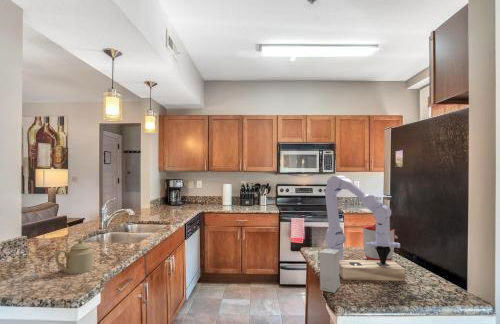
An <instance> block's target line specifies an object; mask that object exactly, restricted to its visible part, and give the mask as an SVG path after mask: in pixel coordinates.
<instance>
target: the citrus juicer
mask: <svg viewBox="0 0 500 324" xmlns="http://www.w3.org/2000/svg"><path fill="white" fill-rule="evenodd" d="M398 238H399V237H398V236H397V235H396V229H395V228H394V229H390V242H395V239H398ZM366 242H376V223H374V224H371V225H370V224H368V225H363V226H362V247H363V252H364V256H365V260H379V261H380V258H379V255H378V253H377V251H376V249H375V247H369V248H367V247H366ZM390 249H391V251H390V253H389V254H388V256H387V259H386V261H392V259H393V256H394V250H395V247H390Z"/></svg>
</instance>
